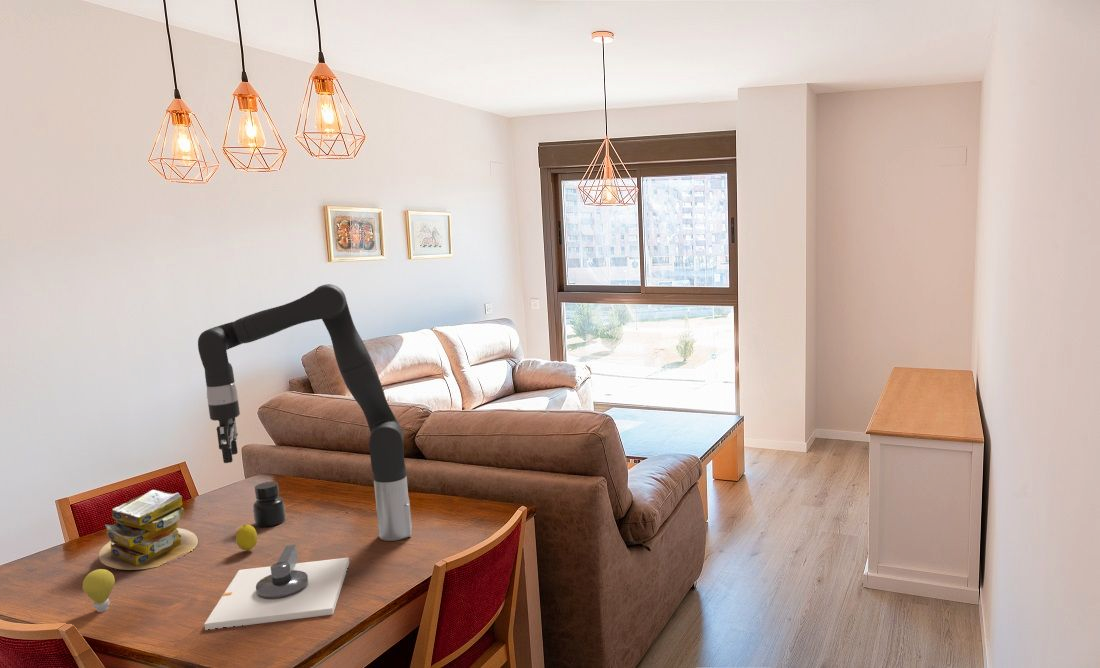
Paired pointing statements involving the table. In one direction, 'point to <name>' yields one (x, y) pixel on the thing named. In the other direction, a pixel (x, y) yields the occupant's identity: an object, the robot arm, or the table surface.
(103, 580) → the light bulb
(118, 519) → the stack of boxes
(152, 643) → the table surface
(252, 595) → the dial plate
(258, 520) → the ink bottle
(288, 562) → the dial
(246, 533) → the lemon
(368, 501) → the table surface
